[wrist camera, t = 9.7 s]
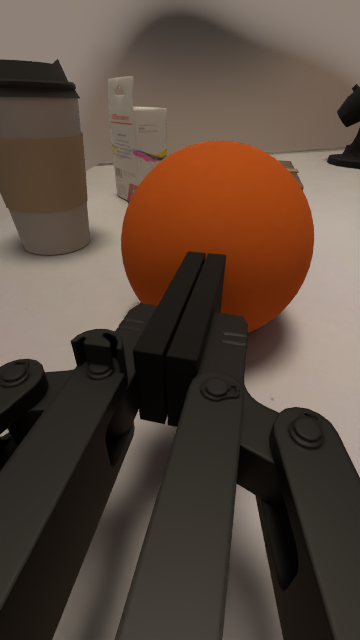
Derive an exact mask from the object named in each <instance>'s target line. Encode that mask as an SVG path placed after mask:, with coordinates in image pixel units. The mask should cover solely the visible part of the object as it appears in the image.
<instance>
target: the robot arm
mask: <svg viewBox="0 0 360 640" xmlns="http://www.w3.org/2000/svg"><path fill="white" fill-rule="evenodd" d="M205 257H206V253H202V252H191V251H188V252H187V254H186V256H185V258H184V259H183V261H182V263H181V265H180V266H179V268H178V270H177V272H176V274H175V275H174V277H173V279H172V281H171V283H170V284H169V286H168V288H167V290H166V291H165V293H164V295H163V297H162V299H161V300H160V302H159V304H158V305H151V304H143V303H140V304H138V305H137V306H135V307H134V308H132V309H131V310H129V312H128V313H127V315H126V316H125V318H124V321H122V322H121V324H120V325H119V328H117V329H116V331H111V330H108V329H94V330H90V331H86V332H84V333H82V334H79V335H77V336H76V337H75V338H74V339H73V340H71V344H72V348H73V352H74V356H75V359H76V363H77V367H76V368H75V369H74V370H68V371H56V372H44V369H43V366H42V364H40V363H39V362H38V361H36V360H31V359H20V360H16V361H12V362H9V363H7V364H5V365H3V366H1V367H0V434H1V433H3V432H4V431H5V430H6V429H8V430H9V433H7V434H6V435H4V436H2V437H0V640H52V639H53V636H54V634H55V631H56V628H57V626H58V623H59V621H60V618H61V616H62V613H63V611H64V608H65V606H66V603H67V601H68V598H69V596H70V593H71V591H72V588H73V586H74V583H75V581H76V578H77V576H78V573H79V571H80V568H81V566H82V563H83V561H84V558H85V556H86V553H87V551H88V548H89V546H90V543H91V541H92V538H93V536H94V533H95V531H96V528H97V526H98V523H99V521H100V518H101V516H102V513H103V511H104V508H105V506H106V503H107V501H108V498H109V496H110V493H111V491H112V488H113V486H114V483H115V481H116V478H117V475H118V473H119V470H120V468H121V465H122V463H123V460H124V458H125V455H126V453H127V450H128V448H129V445H130V443H131V440H132V438H133V435H134V429H135V428H134V419H135V416H136V414H137V412H138V409H139V412H140V419H143V420H147V421H152V422H157V423H162V424H165V421H166V418H167V415H168V425H171V426H176V427H177V430H176V433H175V437H174V440H173V443H172V447H171V450H170V454H169V457H168V460H167V464H166V467H165V471H164V474H163V477H162V481H161V484H160V488H159V491H158V494H157V498H156V501H155V505H154V508H153V511H152V515H151V518H150V522H149V525H148V528H147V532H146V535H145V539H144V542H143V545H142V549H141V552H140V556H139V559H138V562H137V566H136V569H135V573H134V576H133V579H132V583H131V586H130V590H129V593H128V596H127V600H126V603H125V607H124V610H123V613H122V617H121V620H120V624H119V627H118V630H117V634H116V637H115V640H222V637H223V626H224V615H225V604H226V593H227V582H228V571H229V560H230V549H231V538H232V527H233V516H234V505H235V494H236V483H237V484H238V485H240V486H242V487H243V488H245V489H247V490H248V491H250V492H251V493H253V494H255V496H256V501H257V506H258V511H259V516H260V522H261V527H262V532H263V537H264V542H265V547H266V552H267V558H268V563H269V568H270V573H271V578H272V583H273V589H274V594H275V599H276V604H277V609H278V614H279V620H280V625H281V630H282V635H283V640H360V477H359V475H358V473H357V471H356V469H355V467H354V465H353V463H352V461H351V459H350V457H349V455H348V453H347V451H346V449H345V447H344V445H343V442H342V440H341V438H340V436H339V434H338V432H337V431H336V430H335V428H334V427H333V425H332V424H331V423H330V422H329V421H328V420H327V419H325V418H324V417H323V416H322V415H320V414H318V413H316V412H314V411H312V410H309V409H306V408H299V407H293V408H287V409H284V410H283V411H281V412H280V413H278V412H276V411H274V410H272V409H270V408H267V407H265V406H264V405H262V404H260V403H258V402H257V401H256V400H255V399H254V398H252V397H251V395H250V394H249V393H248V391H247V390H246V387H245V385H244V372H245V360H246V348H247V336H248V324H247V322H246V320H245V319H244V317H243V316H240V315H233V314H225V313H220V311H221V303H222V293H223V283H224V273H225V263H226V255H222V254H212V253H208V255H207V257H206V260H205Z"/></svg>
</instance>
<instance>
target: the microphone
mask: <svg viewBox="0 0 360 640" xmlns="http://www.w3.org/2000/svg"><path fill="white" fill-rule="evenodd" d="M352 89H353V91H354V92H353V93H352V94H351V95H350V96H348V97H347V99H346V100H345V102H344V103H343V104H342V106H341V107H340V109H339V110H338V111H337V113H338V116H339V118H340V119H341V121H342V123H343V124H344V125H345V126H346V127H349V126H350V125H353V124H355V123H357V122H360V87H359V86H358V85H357V84H356V85H355V86H354V87H353V88H352ZM327 162H328V163H330V164H333V165H336V166H343V167H349V168H359V169H360V128H359V131H358V134H357V136H356V138H355V139H354V141H353V143H352V144H351V145H347V146H346V148H345V151H344V152H343V153H342V154H335V155H330V156H329V158H328V161H327Z"/></svg>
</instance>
